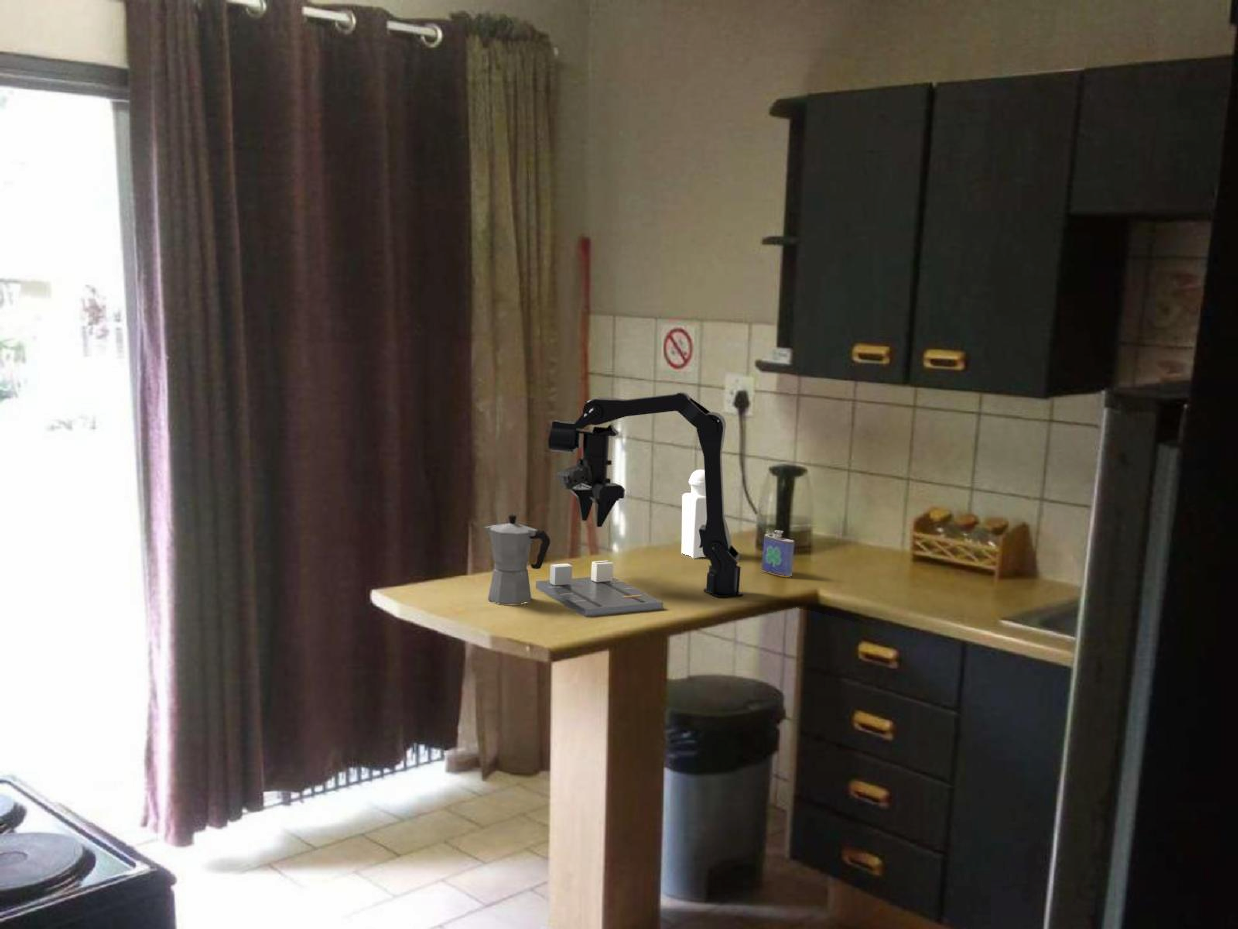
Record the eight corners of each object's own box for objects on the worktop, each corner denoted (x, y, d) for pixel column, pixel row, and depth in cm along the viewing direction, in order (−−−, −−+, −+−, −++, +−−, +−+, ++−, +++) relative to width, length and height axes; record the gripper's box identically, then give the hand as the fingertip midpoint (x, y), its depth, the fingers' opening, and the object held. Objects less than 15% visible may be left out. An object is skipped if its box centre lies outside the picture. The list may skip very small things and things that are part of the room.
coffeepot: (470, 599, 237) (473, 514, 234) (493, 590, 245) (496, 507, 243) (536, 611, 230) (539, 523, 228) (557, 601, 239) (561, 516, 237)
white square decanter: (692, 559, 285) (697, 472, 282) (678, 553, 291) (683, 468, 288) (714, 557, 288) (719, 471, 285) (699, 552, 294) (704, 467, 291)
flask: (794, 577, 271) (797, 533, 269) (785, 579, 269) (788, 534, 267) (766, 569, 278) (769, 526, 276) (757, 571, 276) (760, 527, 274)
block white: (566, 581, 249) (567, 563, 249) (571, 584, 247) (572, 565, 246) (549, 582, 247) (550, 564, 247) (554, 585, 245) (555, 566, 244)
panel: (608, 582, 257) (609, 575, 257) (663, 609, 237) (663, 601, 236) (535, 588, 249) (536, 580, 249) (585, 616, 228) (585, 608, 228)
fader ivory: (607, 578, 254) (607, 560, 253) (612, 580, 252) (613, 562, 251) (591, 579, 252) (591, 561, 251) (596, 582, 250) (597, 563, 249)
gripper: (544, 449, 257) (541, 517, 260) (581, 461, 241) (577, 534, 243) (588, 448, 263) (585, 515, 265) (627, 460, 247) (623, 531, 249)
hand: (591, 523), depth 255 cm, fingers open, 7 cm apart
